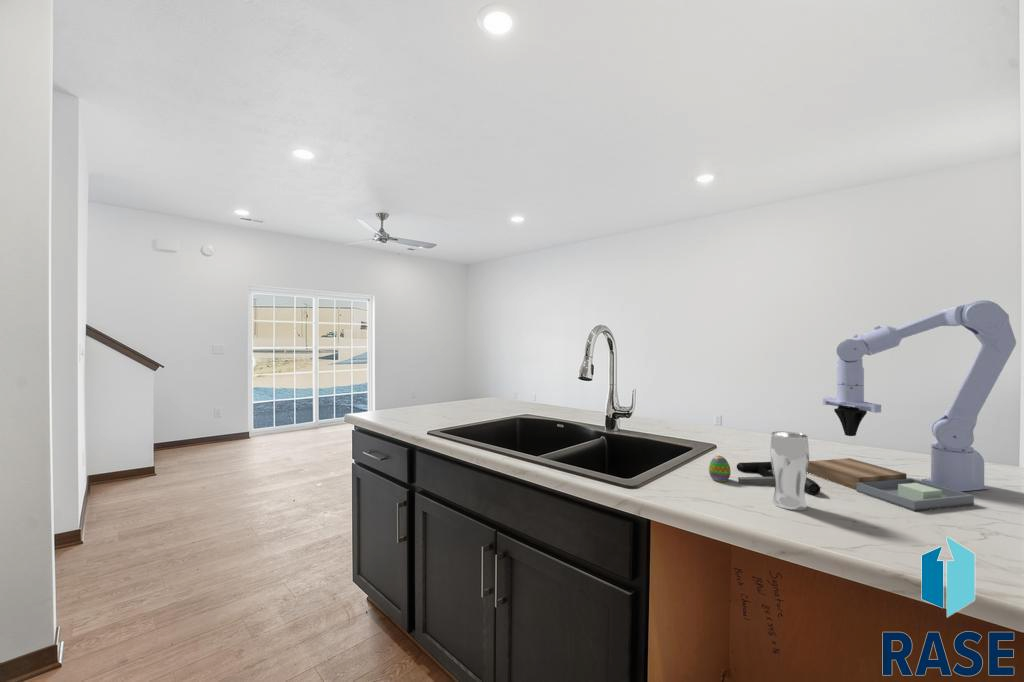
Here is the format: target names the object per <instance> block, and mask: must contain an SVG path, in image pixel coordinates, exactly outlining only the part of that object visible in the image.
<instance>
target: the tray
mask: <svg viewBox="0 0 1024 682" xmlns="http://www.w3.org/2000/svg"><path fill="white" fill-rule="evenodd" d="M908 483H918V484H922V485H925V486H929V487H932V488H936V489H939V490H942V497H941V498H931V499H921V500H911V499H908V498H905V497H902V496H899V495H898V484H908ZM856 492H857V493H860V494H863V495H866V496H868V497H872V498H875V499H878V500H881V501H884V502H886V503H889V504H892V505H894V504H895V506H897V505H898V506H897V507H900V506H901V507H900V508H903V507H904V508H903V509H906V508H907V509H906V510H910V511H912V512H922V511H931V510H930V509H932V510H939V509H938V508H941V509H948V508H947V507H950V508H957V507H958V506H960V507H966V505H969V506H974V505H975V502H974V501H975V498H974V497H975V496H974V495H973V494H971V493H966V492H964V491H961V492H959V491H956V490H952V489H949V488H945V487H941V486H938V485H934V484H931V483H927V482H924V481H921V479H915V478H913V477H910V478H909V477H908V478H907V477H906V479H894V480H883V481H871V482H860V483H857V490H856ZM973 504H974V505H973ZM958 508H959V507H958Z"/></svg>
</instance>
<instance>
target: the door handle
mask: <svg viewBox="0 0 1024 682" xmlns="http://www.w3.org/2000/svg"><path fill="white" fill-rule="evenodd" d="M736 469H737V470H738V471H739V472H742V473H757V474H758V475H760V476H740V477H739V476H738V477H737V480H738V481H737V482H738V483H739V484H740V485H741V486H743V485H746V486H775V481H774V475H773V470H772V465H771V461H757V462H756V461H753V462H738V463H737V464H736ZM804 492H806V493H807V494H811V495H818V494H819V493H820V492H821V486H820V485H819V484H818V483H817V482H816V481H814V480H812V479H811V478H808V477H806V482H805V488H804Z"/></svg>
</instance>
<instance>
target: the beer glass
mask: <svg viewBox="0 0 1024 682" xmlns="http://www.w3.org/2000/svg"><path fill="white" fill-rule="evenodd" d="M770 435H771V437H770V448H769V449H770V450H769V452H770V462H771V465H772V470H773V472H772V473H773V475H774V481H775V485H774V493H773V496H772V497H773V499H772V503H773V505H775V506H776V507H779V508H781V509H784V510H788V509H789V511H797V512H798V511H800V512H801V511H805V510H806V509H807V508H808V506H807V501H806V496H805V491H804V488H805V482H806V477H807V476H808V473H807V472H808V467H809V461H810V447H809V436H808V434H807V435H806V434H804V433H800V432H795V431H783V430H781V431H776V430H775V431H772V432H771V434H770ZM807 478H808V477H807Z"/></svg>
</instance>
